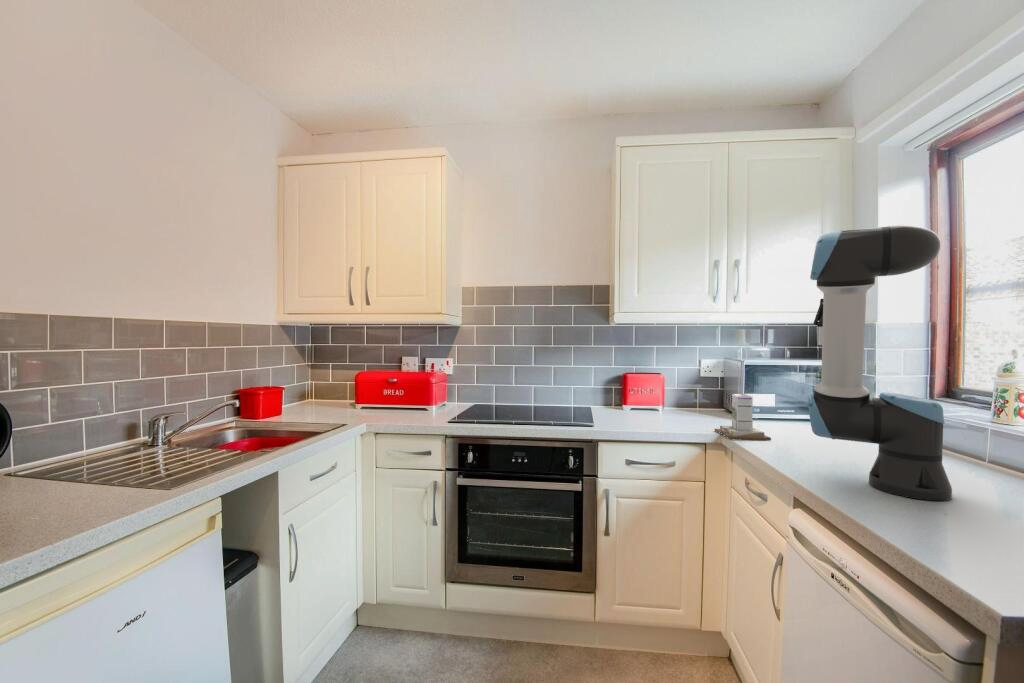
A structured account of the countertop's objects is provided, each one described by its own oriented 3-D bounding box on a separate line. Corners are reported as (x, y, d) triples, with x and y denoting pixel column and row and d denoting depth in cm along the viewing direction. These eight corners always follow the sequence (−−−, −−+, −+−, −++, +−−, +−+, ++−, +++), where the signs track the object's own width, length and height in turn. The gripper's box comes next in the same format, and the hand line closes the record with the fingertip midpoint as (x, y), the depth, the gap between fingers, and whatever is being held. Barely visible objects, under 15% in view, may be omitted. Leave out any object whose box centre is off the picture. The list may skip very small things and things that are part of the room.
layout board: (770, 440, 156) (770, 433, 156) (731, 439, 157) (731, 433, 157) (750, 431, 170) (750, 425, 170) (714, 431, 171) (714, 424, 171)
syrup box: (753, 435, 160) (753, 396, 160) (735, 434, 161) (736, 395, 161) (747, 431, 166) (748, 394, 165) (730, 431, 167) (731, 393, 166)
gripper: (879, 278, 134) (878, 346, 135) (823, 287, 159) (822, 344, 160) (855, 278, 134) (853, 346, 135) (803, 286, 159) (801, 344, 160)
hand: (836, 345), depth 147 cm, fingers open, 13 cm apart
